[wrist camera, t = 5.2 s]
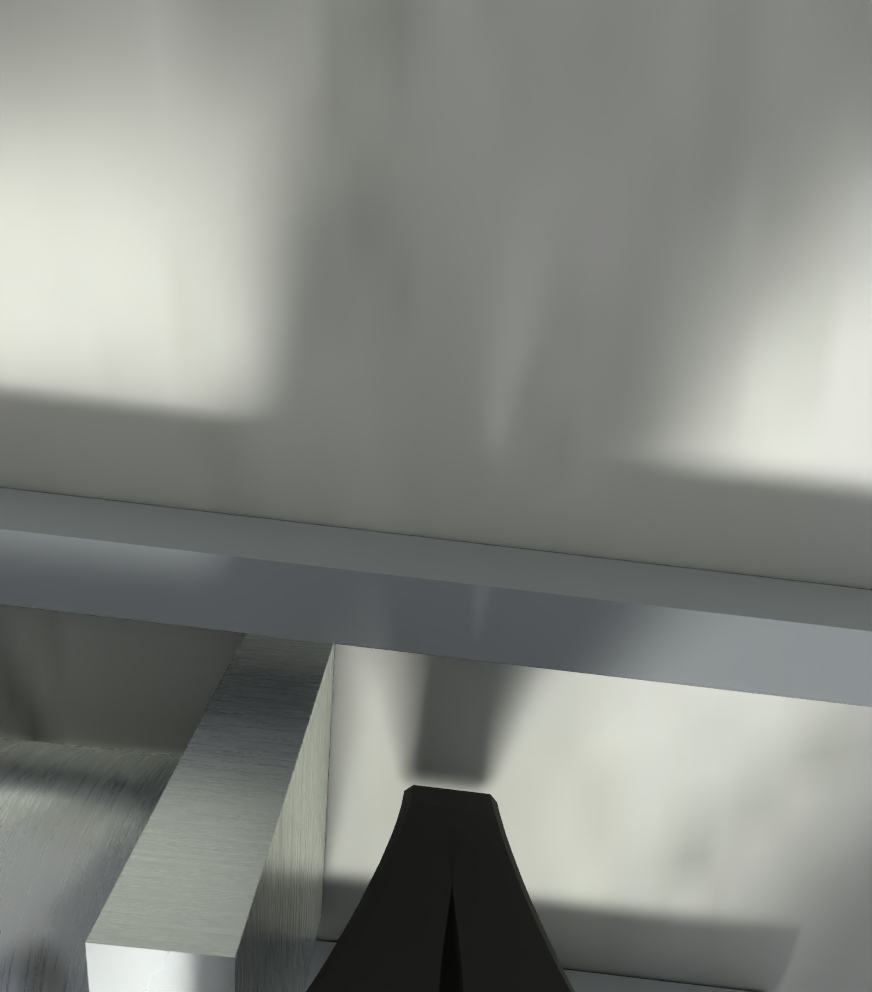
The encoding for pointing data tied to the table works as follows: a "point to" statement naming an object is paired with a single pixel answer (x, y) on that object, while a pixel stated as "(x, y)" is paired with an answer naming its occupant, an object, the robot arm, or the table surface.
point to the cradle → (439, 606)
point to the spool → (175, 844)
